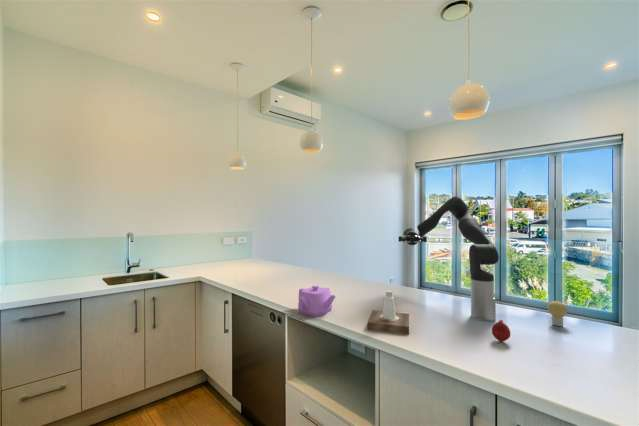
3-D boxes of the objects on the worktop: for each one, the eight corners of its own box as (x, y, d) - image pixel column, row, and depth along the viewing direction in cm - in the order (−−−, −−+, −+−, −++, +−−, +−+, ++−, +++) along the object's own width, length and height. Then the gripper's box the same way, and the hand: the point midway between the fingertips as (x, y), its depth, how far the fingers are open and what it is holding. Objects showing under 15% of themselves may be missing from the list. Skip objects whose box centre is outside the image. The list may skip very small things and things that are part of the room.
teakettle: (328, 305, 148) (328, 281, 148) (336, 316, 131) (336, 289, 132) (296, 307, 145) (296, 282, 145) (299, 318, 128) (299, 291, 129)
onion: (510, 346, 100) (510, 323, 100) (491, 343, 103) (491, 320, 103) (510, 340, 105) (509, 319, 105) (491, 337, 108) (491, 316, 108)
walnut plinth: (409, 320, 126) (408, 313, 126) (409, 334, 111) (409, 326, 111) (372, 316, 131) (372, 309, 131) (367, 329, 115) (367, 321, 115)
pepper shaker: (381, 315, 123) (381, 289, 124) (394, 315, 123) (394, 289, 124) (384, 319, 118) (383, 292, 118) (397, 319, 118) (397, 292, 118)
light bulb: (548, 321, 125) (548, 298, 125) (568, 325, 121) (567, 301, 121) (546, 325, 121) (546, 301, 121) (566, 329, 116) (566, 304, 116)
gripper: (425, 244, 160) (427, 247, 145) (399, 244, 165) (398, 246, 149) (425, 231, 161) (427, 232, 145) (399, 231, 165) (398, 232, 149)
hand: (412, 240), depth 147 cm, fingers open, 8 cm apart
